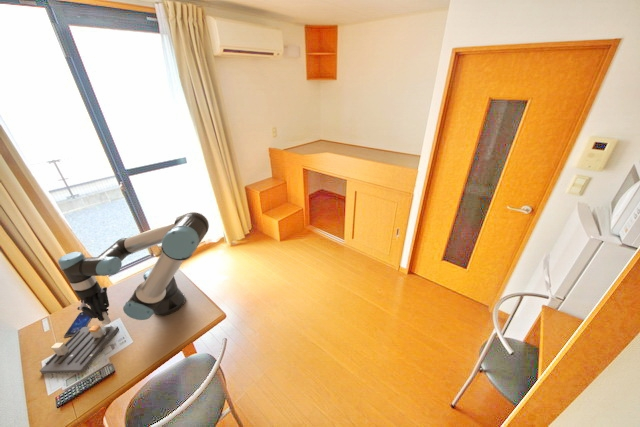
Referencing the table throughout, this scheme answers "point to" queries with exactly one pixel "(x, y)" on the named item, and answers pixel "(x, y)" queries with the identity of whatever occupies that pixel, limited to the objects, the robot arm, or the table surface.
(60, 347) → the fader
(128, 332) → the table surface
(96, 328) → the block
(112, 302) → the table surface
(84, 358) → the console
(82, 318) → the smartphone
